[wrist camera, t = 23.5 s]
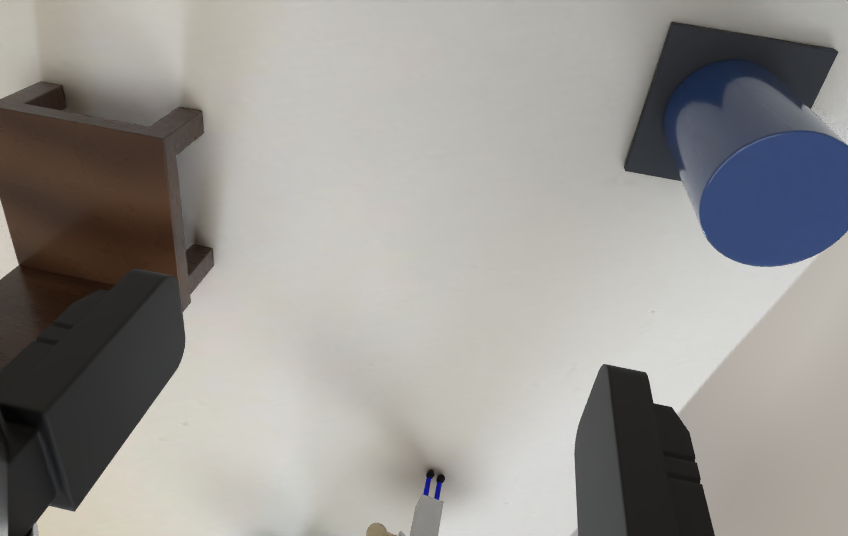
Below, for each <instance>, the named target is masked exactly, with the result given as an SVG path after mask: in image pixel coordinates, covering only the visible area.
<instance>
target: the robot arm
mask: <svg viewBox="0 0 848 536" xmlns="http://www.w3.org/2000/svg"><path fill="white" fill-rule="evenodd" d="M184 348H185V331H184V322H183V313H182V304H181V295H180V287H179V282H178V280H177V278H176V277H174V276H171V275H166V274H161V273H156V272H152V271H147V270H142V269H132V270H130V271H129V272H127V273H126V274H125V275H124V276H123V277H122V278H121V279H120V280H119V281H118V282H117V283H116V284H115V285H114V286H113V287H112V288H111V289H110V290H109V291H108V290H103V289H99V290H97V291H95V292H93V293H91V294H89V295H87V296H85V297H83V298H81V299H79V300H78V301H76V302H74V303H72V304H71V305H70V306H69V307H68V308H67V309H66V310H65V311H64V312H63V313H62V314H60V315H59V316H58V317H57V318H56V319H55V320H54V321H53V325H52V326H50V325H49V326H48V327H47V328H46V329H45V330H44V331H42V332H41V333H40V334H39V335H38V336H37V339H36V341H32V342H31V343H30V344H29V345H28V346H27V347H26V348H24V349H23V350H22V351H21V352H20V353H19V354H18V355H17V356H16V357H15V358H14V359H13V360H12V361H11V362H10V363H9V364H8V365H6V366H5V367H4V368H3V369H2V370H1V371H0V536H39V532H38V526H37V523H36V521H37V520H38V519H39V518H40V516H41V515H42V514H43V512H44V511H45V510H46V508H47V507H48V506H53V507H57V508H61V509H66V510H70V511H74V512H75V510H76V509H77V507H78V506H79V505H80V503H81V502H82V501H83V499H84V498H85V496H86V495H87V494H88V492H89V491H90V489H91V488H92V487H93V485H94V484H95V482H96V481H97V480H98V478H99V477H100V475H101V474H102V473H103V471H104V470H105V469H106V467H107V466H108V464H109V463H110V462H111V460H112V459H113V457H114V456H115V455H116V453H117V452H118V450H119V449H120V448H121V446H122V445H123V444H124V442H125V441H126V439H127V438H128V437H129V435H130V434H131V432H132V431H133V430H134V428H135V427H136V425H137V424H138V423H139V421H140V420H141V418H142V417H143V416H144V414H145V413H146V412H147V410H148V409H149V407H150V406H151V405H152V403H153V402H154V400H155V399H156V398H157V396H158V395H159V393H160V392H161V391H162V389H163V388H164V386H165V385H166V384H167V382H168V381H169V380H170V378H171V377H172V375H173V374H174V373H175V371H176V370H177V368H178V366H179V364H180V362H181V359H182V356H183V353H184ZM575 476H576V498H577V519H578V536H715V535H714V531H713V527H712V523H711V519H710V515H709V511H708V506H707V502H706V498H705V495H704V490H703V487H702V484H700V474H699V470H698V466H697V463H695V454H694V450H693V446H692V442H691V437H690V433H689V431H688V430H687V428H686V427H685V426H684V424H683V423H682V421H681V420H680V418H679V417H678V415H677V414H676V413H675V411H674V410H673V408H672V407H668V406H664V405H659V404H654V403H653V399H652V394H651V389H650V383H649V379H648V376H647V374H646V373H645V372H641V371H636V370H631V369H626V368H621V367H616V366H611V365H606V364H603V365H602V366H601V368H600V370H599V372H598V375H597V377H596V380H595V382H594V385H593V388H592V390H591V393H590V396H589V398H588V401H587V404H586V406H585V409H584V412H583V414H582V417H581V419H580V422H579V426H578V430H577V435H576V441H575Z"/></svg>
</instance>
